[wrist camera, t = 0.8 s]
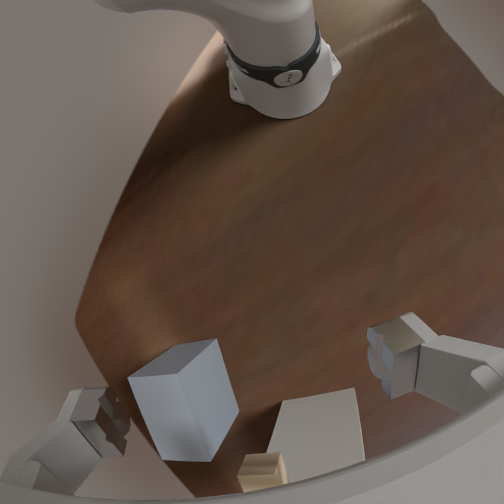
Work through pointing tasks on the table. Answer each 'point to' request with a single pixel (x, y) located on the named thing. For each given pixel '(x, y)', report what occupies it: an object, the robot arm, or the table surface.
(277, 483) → the mallet
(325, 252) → the table surface
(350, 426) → the stand
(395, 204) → the table surface
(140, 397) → the block
